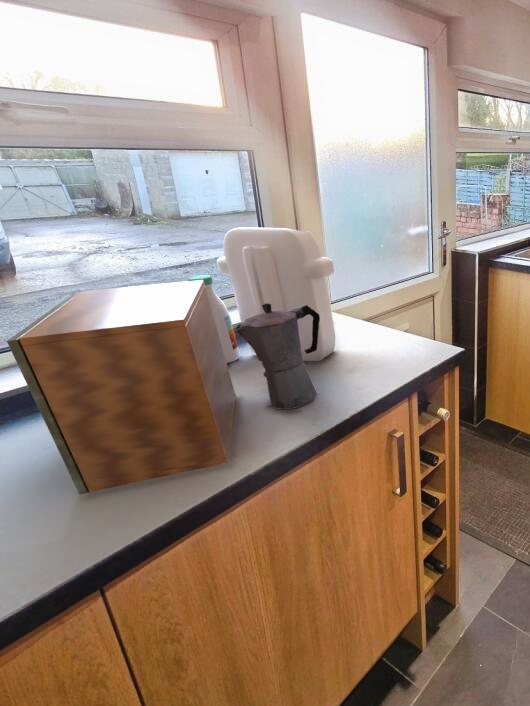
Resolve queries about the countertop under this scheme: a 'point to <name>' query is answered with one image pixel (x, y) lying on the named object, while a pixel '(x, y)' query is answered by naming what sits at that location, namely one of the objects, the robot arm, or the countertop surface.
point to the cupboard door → (42, 401)
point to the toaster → (281, 279)
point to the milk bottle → (221, 320)
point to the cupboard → (136, 381)
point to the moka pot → (282, 353)
